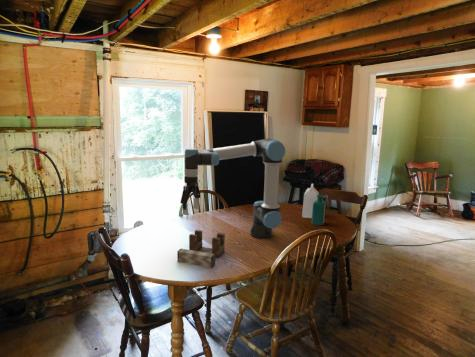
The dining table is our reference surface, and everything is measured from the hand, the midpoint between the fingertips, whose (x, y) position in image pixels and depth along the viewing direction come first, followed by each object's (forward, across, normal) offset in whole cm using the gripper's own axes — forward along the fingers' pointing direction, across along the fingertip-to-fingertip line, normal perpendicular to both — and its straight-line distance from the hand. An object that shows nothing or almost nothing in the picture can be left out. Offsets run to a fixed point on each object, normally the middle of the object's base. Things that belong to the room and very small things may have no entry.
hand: (190, 211), depth 194 cm
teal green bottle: (+22, -79, +66) cm, 105 cm away
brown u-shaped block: (+23, +1, +12) cm, 25 cm away
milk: (+22, -96, +58) cm, 114 cm away
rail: (+23, +16, +12) cm, 31 cm away
